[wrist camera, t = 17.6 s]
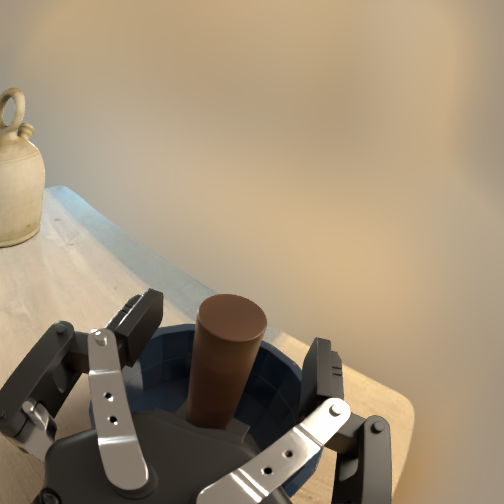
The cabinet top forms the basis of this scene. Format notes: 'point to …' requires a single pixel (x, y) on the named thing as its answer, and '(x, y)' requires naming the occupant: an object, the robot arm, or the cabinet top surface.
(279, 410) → the pot
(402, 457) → the cabinet top surface
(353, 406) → the cabinet top surface
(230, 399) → the brown cylinder
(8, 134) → the jug
